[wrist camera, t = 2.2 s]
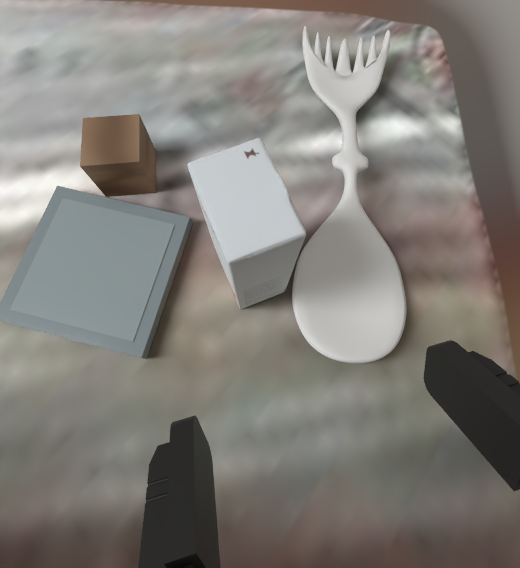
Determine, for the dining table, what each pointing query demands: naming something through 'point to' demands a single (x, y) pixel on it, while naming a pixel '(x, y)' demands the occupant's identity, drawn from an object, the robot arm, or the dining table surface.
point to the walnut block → (118, 155)
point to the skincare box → (249, 219)
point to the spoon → (348, 231)
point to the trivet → (97, 272)
